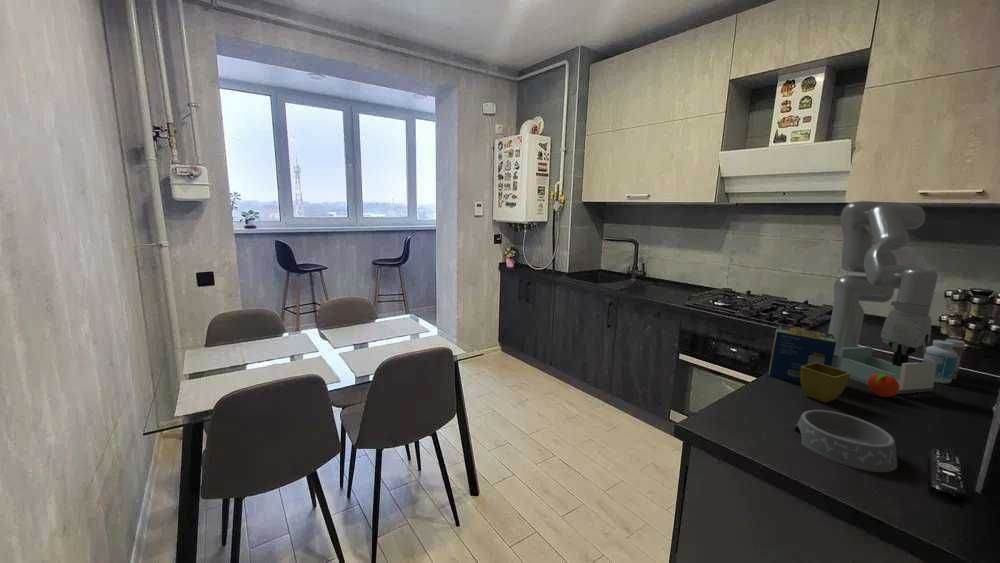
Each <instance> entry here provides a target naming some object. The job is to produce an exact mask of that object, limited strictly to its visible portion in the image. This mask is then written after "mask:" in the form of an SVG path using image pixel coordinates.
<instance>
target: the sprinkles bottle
mask: <svg viewBox="0 0 1000 563" xmlns="http://www.w3.org/2000/svg"><path fill="white" fill-rule="evenodd" d="M944 341H946V342H951V343H953V344H954V346H953V348H952V350H954V351H956V352H957V354H958V355H957V360H956V364H955V368H954V372H953V377H952V380H957V375H958V371H959V368H960V366H961V360H962V356H963V351H964V348H965V347H966V341H964V340H960V339H954V338H945V340H944Z"/></svg>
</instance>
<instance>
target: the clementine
mask: <svg viewBox="0 0 1000 563" xmlns="http://www.w3.org/2000/svg"><path fill="white" fill-rule="evenodd" d="M867 387H868V389H869V390H870V392H872V394H874V395H876V396H878V397H881V398H890V397H893V396H895V395H898V394H897V393H898V391H899V384H898V382H897V380H896V379H895V378H893V377H892V376H890V375H887V374H882V373H879V374H875V375H873V376H871V377H870V378H869V380H868V385H867Z"/></svg>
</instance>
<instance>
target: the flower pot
mask: <svg viewBox="0 0 1000 563" xmlns="http://www.w3.org/2000/svg"><path fill="white" fill-rule="evenodd" d="M849 376H850V373H849V372H846V371H843V370H840V369H836V367H833V366H831V367H830V366H827V365H823V364H820V363H812V364H808V365H804V366H801V383H800V386H801V388H802V391H803V393H804V394H805V396H807V397H808V398H812V399H814V400H816V401H819V402H822V403H827V404H828V403H829V402H832V401H834V400H836V399H837V398H838V397H840V395H841V394H842V393H843V392H844V390H845V389H846V386H847V383H848V381H849V379H850V378H849Z"/></svg>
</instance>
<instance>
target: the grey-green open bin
mask: <svg viewBox="0 0 1000 563" xmlns="http://www.w3.org/2000/svg"><path fill="white" fill-rule="evenodd" d="M873 349H874V348H873V347H871V346H857V347H848V348H840V349H839V354H838V356H837V360H836V366H835V368H836V369H840V370H843V371H846V372H849V373H850V376H849V379H851V380H852V381H853V380H854V381H856V382H859V383H860V384H864V385H867V386H868V380H869V378H870V377H871V376H873V375H875V374H879V373H882V374H887V375H890V376H892V377H893V378H895V379H896V380H897V382H898V384H899V382H900V375H901V368H902V366H896V365H893V364H892V363H893V362H892V361H889V360H885V359H882V358H878V357H876V356H872V352H873ZM899 390H900V389H899ZM924 392H925V391H921V392H920V393H924ZM913 393H915V394H916V392H908V393H907V394H913ZM902 394H906V393H899V392H898V393H897V394H896V395H902Z"/></svg>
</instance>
